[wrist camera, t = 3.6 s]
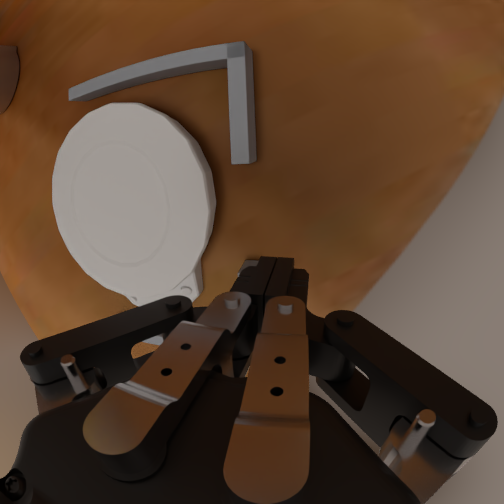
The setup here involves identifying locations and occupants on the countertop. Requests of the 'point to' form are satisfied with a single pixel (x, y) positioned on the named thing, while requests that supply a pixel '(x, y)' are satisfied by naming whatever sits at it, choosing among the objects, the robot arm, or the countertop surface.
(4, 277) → the countertop surface
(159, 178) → the lid
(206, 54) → the lid holder
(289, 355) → the robot arm
